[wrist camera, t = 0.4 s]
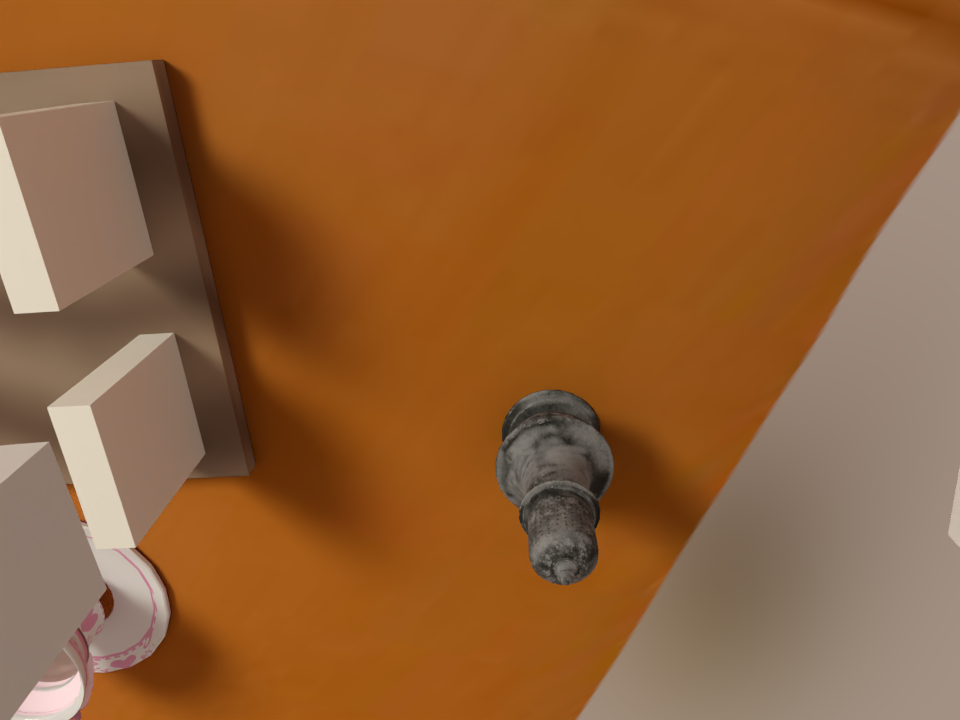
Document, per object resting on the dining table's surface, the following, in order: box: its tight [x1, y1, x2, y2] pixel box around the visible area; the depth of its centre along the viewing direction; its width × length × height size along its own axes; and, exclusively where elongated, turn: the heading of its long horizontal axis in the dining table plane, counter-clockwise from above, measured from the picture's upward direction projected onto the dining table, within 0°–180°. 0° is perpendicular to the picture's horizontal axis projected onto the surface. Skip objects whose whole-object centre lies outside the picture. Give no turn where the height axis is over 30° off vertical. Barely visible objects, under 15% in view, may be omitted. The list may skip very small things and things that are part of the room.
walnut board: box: [0, 60, 256, 484], centre depth 37 cm, size 21×16×1 cm
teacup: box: [11, 522, 171, 720], centre depth 43 cm, size 12×12×6 cm
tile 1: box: [0, 101, 154, 314], centre depth 30 cm, size 7×2×8 cm, turn 4°
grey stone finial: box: [496, 390, 614, 585], centre depth 34 cm, size 6×6×12 cm
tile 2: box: [47, 333, 205, 549], centre depth 34 cm, size 7×2×8 cm, turn 4°
